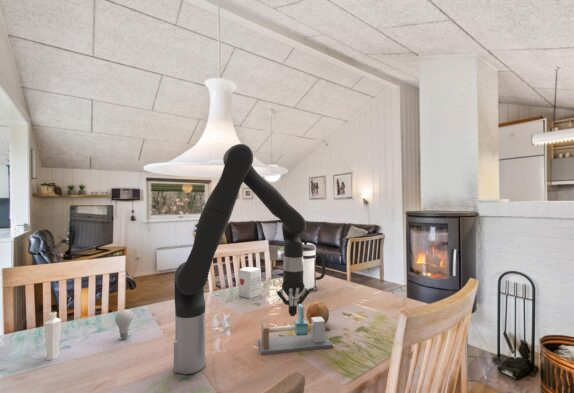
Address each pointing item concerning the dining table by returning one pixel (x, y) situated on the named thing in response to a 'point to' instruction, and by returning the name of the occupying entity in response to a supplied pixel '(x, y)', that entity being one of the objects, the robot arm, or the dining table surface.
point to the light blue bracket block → (301, 322)
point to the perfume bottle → (52, 336)
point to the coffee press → (311, 265)
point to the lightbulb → (124, 322)
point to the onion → (317, 311)
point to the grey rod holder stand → (294, 338)
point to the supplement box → (249, 282)
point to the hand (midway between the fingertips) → (292, 315)
